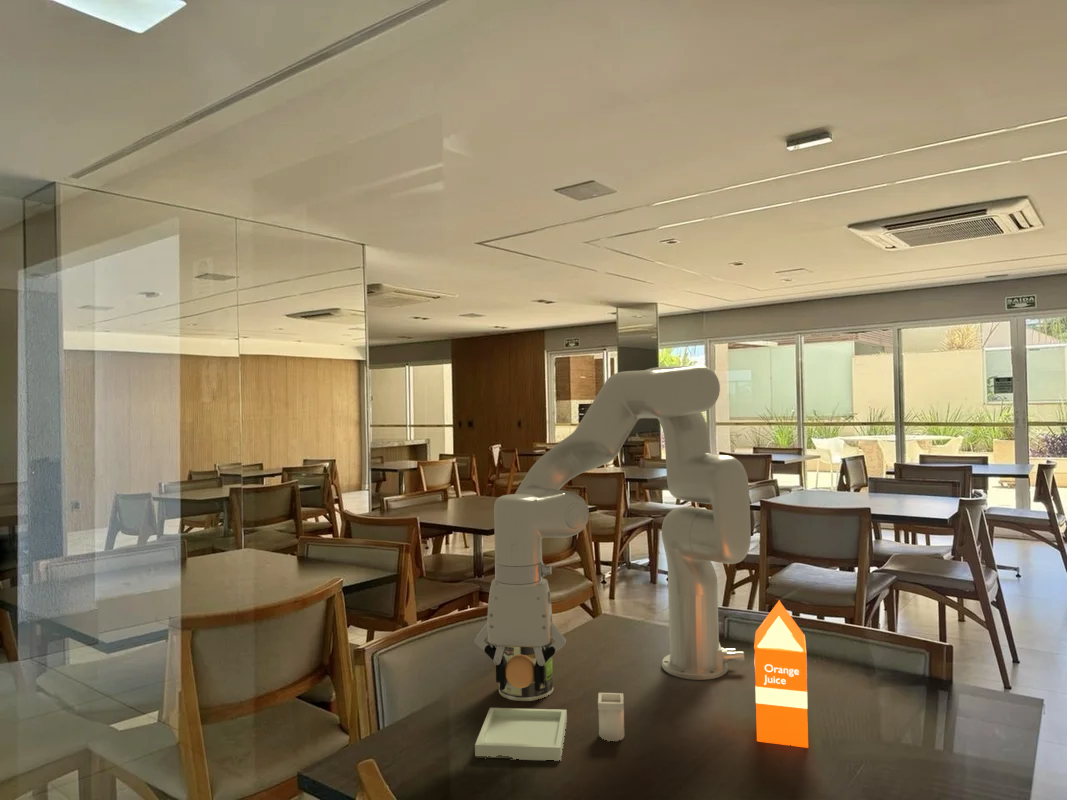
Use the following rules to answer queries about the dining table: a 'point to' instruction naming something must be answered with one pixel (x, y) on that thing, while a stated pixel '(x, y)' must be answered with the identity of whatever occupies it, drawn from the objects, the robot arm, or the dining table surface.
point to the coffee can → (529, 691)
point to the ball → (520, 671)
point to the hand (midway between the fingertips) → (520, 686)
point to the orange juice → (781, 680)
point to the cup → (611, 716)
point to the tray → (523, 734)
